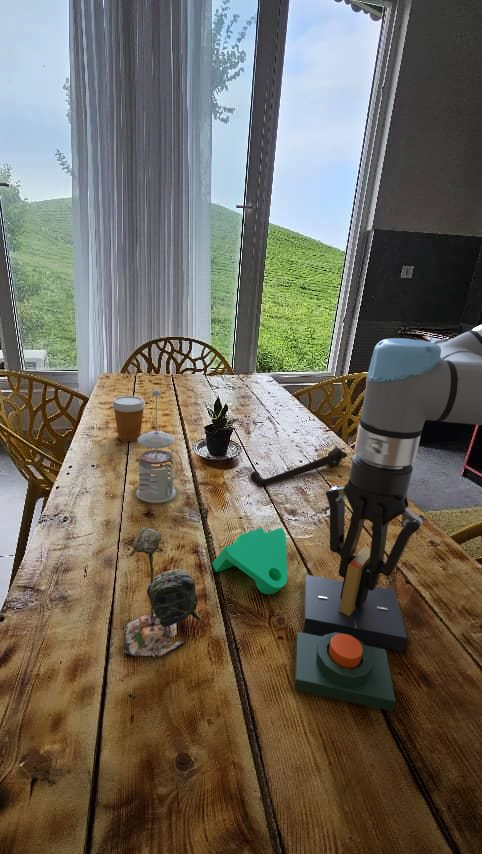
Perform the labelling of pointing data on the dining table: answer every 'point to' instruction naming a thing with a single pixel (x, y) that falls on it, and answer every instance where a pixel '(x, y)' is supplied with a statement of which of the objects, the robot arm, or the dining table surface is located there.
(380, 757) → the dining table surface
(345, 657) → the release button
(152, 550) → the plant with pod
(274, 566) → the camera mount
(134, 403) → the disposable coffee cup
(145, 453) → the french press
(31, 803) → the dining table surface
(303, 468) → the wrench
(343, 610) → the olive tan box
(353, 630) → the black flat block
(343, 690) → the box
